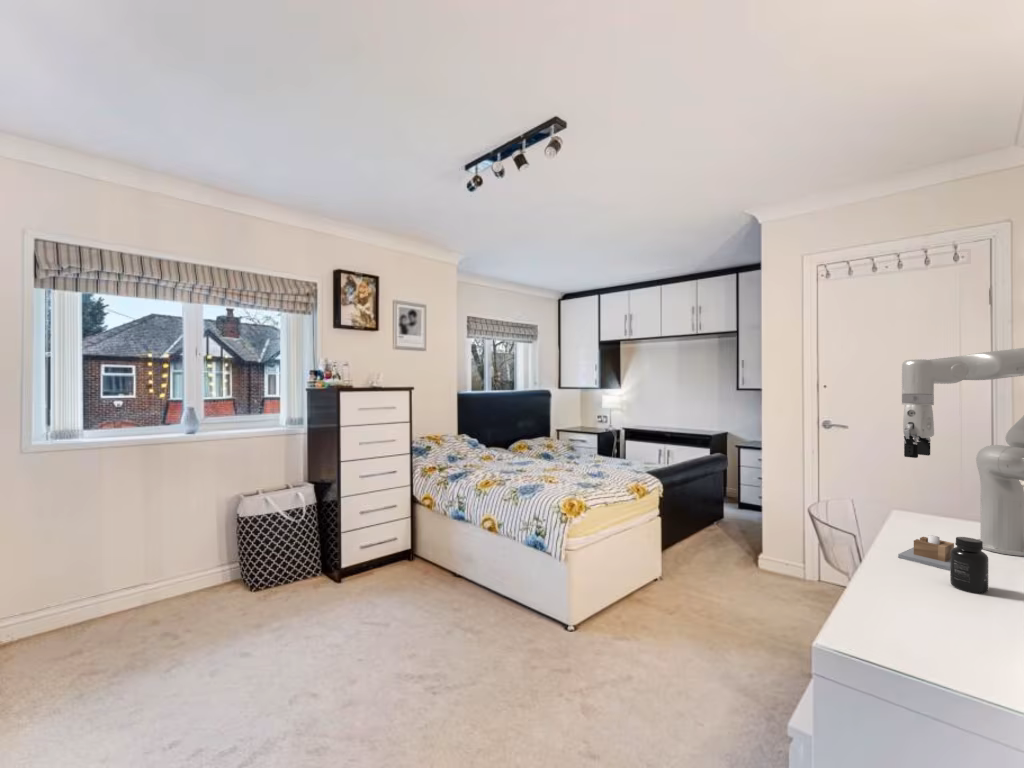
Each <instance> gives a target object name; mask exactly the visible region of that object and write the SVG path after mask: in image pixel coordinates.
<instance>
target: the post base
mask: <svg viewBox="0 0 1024 768" xmlns="http://www.w3.org/2000/svg"><path fill="white" fill-rule="evenodd" d="M927 538H928V542H929V543H933V544H938V545H940V540H941V539H940V536H937V535H927ZM897 557H898V558H899V559H903V560H906V561H909V562H915V563H919V564H923V565H927V566H931V567H935V568H939V569H942V570H947V571H950V560H948V561H946V562H943V561H939V560H935V559H931V558H927V557H923V556H918V555H914V546H913V547H911V548H908V549H907V550H904V551H903V552H899V553H898V555H897Z"/></svg>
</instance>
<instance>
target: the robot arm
mask: <svg viewBox="0 0 1024 768" xmlns="http://www.w3.org/2000/svg"><path fill="white" fill-rule="evenodd" d="M1016 377H1024V347H1019V348H1011V349H1010V348H1009V349H1002V350H994V351H986V352H985V351H984V352H978V353H971V354H965V355H964V354H963V355H959V356H950V357H949V356H948V357H942V358H941V357H940V358H939V357H938V358H933V359H932V358H931V359H930V358H929V359H926V358H925V359H922V358H921V359H907V360H904V361H903V362H902V364H901V405H904V406H903V407H904V408H903V409H904V410H903V420H902V421H903V422H902V425H903V426H902V432H903V435H904V436H903V439H904V440H903V449H904V450H903V453H904V454H903V456H904V458H913V459H917V458H919V456H931V438H932V437H934V436H935V426H934V425H935V423H934V422H935V421H934V410H933V406H934V404H935V394H934V393H935V384H937V385H938V384H941V385H942V384H943V385H945V384H947V385H950V384H957V383H960V382H962V381H987V380H989V381H990V380H1000V379H1006V378H1016ZM1005 442H1006V444H1007V445H1003V444H991V445H986V446H984V447H982V448H981V449H979V451H978V452H977V454H976V458H975V460H976V461H975V462H976V467H977V471H978V475H979V480H980V538H978V540H980V541H982V542H983V550H985V551H988V552H993V553H998V554H1002V555H1009V556H1017V557H1018V556H1019V557H1021V556H1022V557H1024V486H1023V485H1022V482H1024V415H1023V416H1021V417H1020V418H1019V419H1018V420H1017V421H1016V422H1015V424H1013V425H1012V426H1011V427H1010V429H1008V430H1007V432H1006V434H1005ZM1021 481H1022V482H1021Z"/></svg>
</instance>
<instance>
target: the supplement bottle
mask: <svg viewBox="0 0 1024 768" xmlns="http://www.w3.org/2000/svg"><path fill="white" fill-rule="evenodd" d="M978 539H979V538H978ZM978 539H977V538H973V537H967V536H956V537H955V542H954V548H953V549H952V550H951V552H950V570H949V572H950V576H949V577H950V580H949V581H950V584H951V586H952V587H953V588H956V589H958V590H961V591H964V592H969V593H972V594H973V593H974V594H986V593H988V592H989V557H988V555H987V553H985V552H984V551H983V550H984V549H983V542H982V541H980V540H978Z"/></svg>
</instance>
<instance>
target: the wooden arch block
mask: <svg viewBox="0 0 1024 768" xmlns="http://www.w3.org/2000/svg"><path fill="white" fill-rule="evenodd" d="M913 547H914V555H918V556H923V557H927V558H931V559H935V560H939V561H943V562H946V561H948V560H950V552H951V550H952V549H953V548H955V542H950V541H946V540H942V539H940V545H938V544H933V543H929V542H928V536H921V537H919V539H918V538H916V539H914V540H913Z"/></svg>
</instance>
